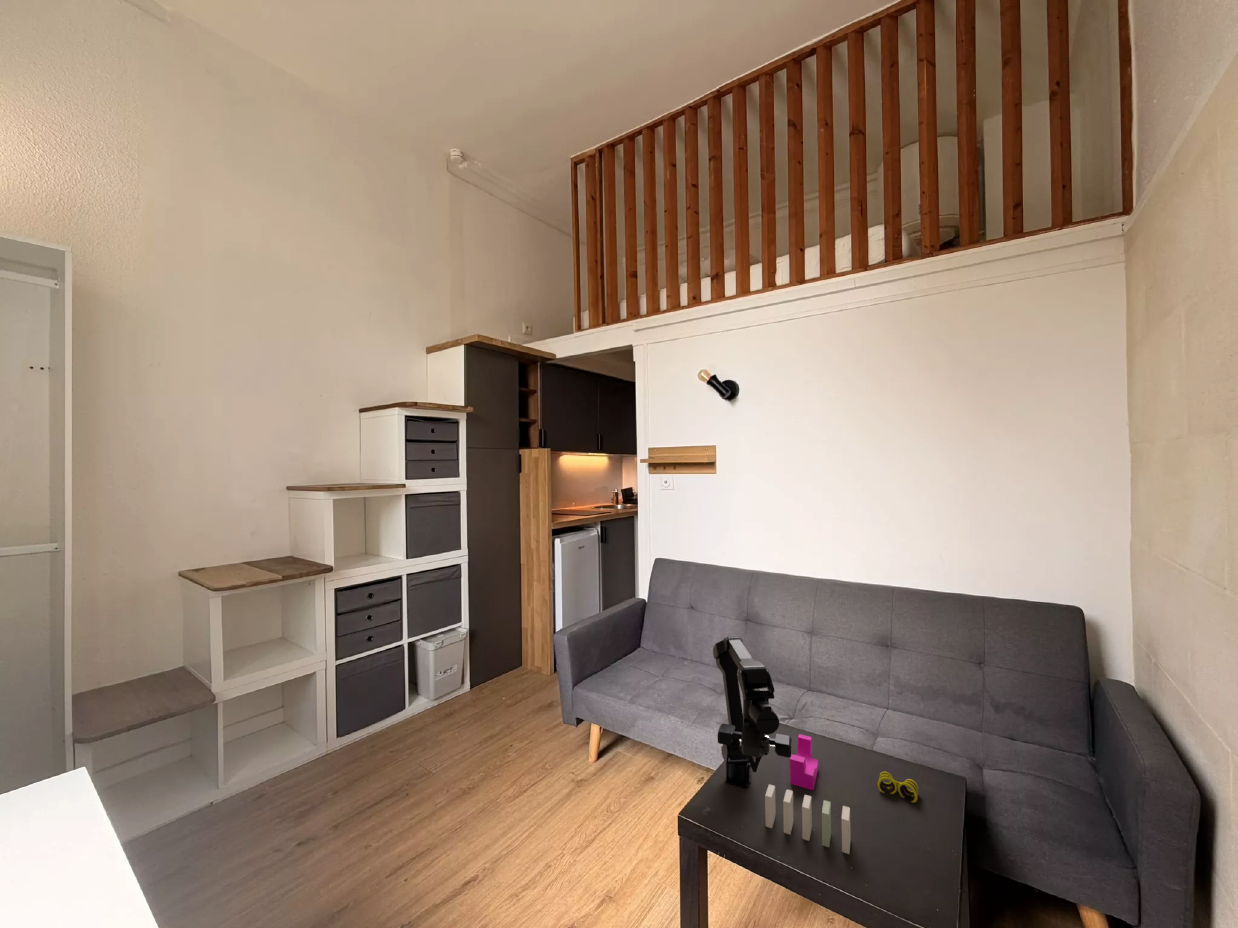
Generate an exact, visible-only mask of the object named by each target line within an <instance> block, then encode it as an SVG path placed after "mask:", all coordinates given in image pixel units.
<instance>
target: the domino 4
mask: <svg viewBox="0 0 1238 928" xmlns="http://www.w3.org/2000/svg"><path fill="white" fill-rule="evenodd" d="M840 819H841V852H842V853H844V854H848V855H850V852H851V851H850V849H851V808H850V807H849V806H846V805H842V811H841V818H840Z"/></svg>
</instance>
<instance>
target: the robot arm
mask: <svg viewBox="0 0 1238 928" xmlns="http://www.w3.org/2000/svg"><path fill="white" fill-rule="evenodd" d="M712 653H713V654H712V655H713V659H714V660H715V664H716V667H717V668H718V669H719V671H720V672H721V673H722V680H723V688H724V689H723V690H724V697H725V705H726V713H727V720H728V722H727V723H721V725H720V726H719V728H718V732H717V743H718V744H719V745H720V744H721V751H720V752H721V757H722V759H723V762H724V763H725V778H724V783H725V784H728V785H731V786H734V787H738V788H740V789H744V790H745V789H747V788H748V785H750V783H751V782H752V772H753V773H757V770H758V768H759V764H760V761H761V760H762V758H763V757H764V756H768V755H769V753H770V748H774V752H775V754H776V755H777V756H780V757H784V758H789V759H790V758H791V755H792V747H793V739H792V737H791V736H790V735H787V734H781V733H776V734H775V738H773V737H769V736H770V735H772V734H774V733H775V732H777V730H779V726H780V719H779V716H778V715H777V714H776V713H775V710H774V709H773V708H772V706H771V705H770V703H769V700H774V699H775V695H774V694H775V691H776V690H775V687H774V684H773V678H772V676H771V674H770V672H769V670H768V669H767V668H766V666H765V665H764V664H763V663H762V662H761V661H758V660H756V659H754V658H753V657H752V655H751V653H750V652H749V651H748V649H747V648H746V646H745V644H744V643H743V638H742V637H740V636H725V637H724V638H723V639H722V640H720V641H718V642H716V643H715V644H714V645H713V647H712ZM760 689H761V690H760ZM762 689H767V690H762ZM741 696H742V697H741Z"/></svg>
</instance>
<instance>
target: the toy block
mask: <svg viewBox="0 0 1238 928" xmlns="http://www.w3.org/2000/svg"><path fill="white" fill-rule="evenodd" d="M812 741H813V740H812V737H811V736H808V735H804V734H801V733H798V737H797V749H796V754H792V753H791V757H789V771H790V772H789V775H790V778H789V779H790V783H789V784H791V785H794V786H798V787H801V788H803V789H808V790H811V791H814V789H815V784H816V782H817V781H816V780H817V778H818V777H817V776H818V772H819V760H818V759H817V758H814V757H813V747H812V746H813V742H812Z"/></svg>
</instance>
